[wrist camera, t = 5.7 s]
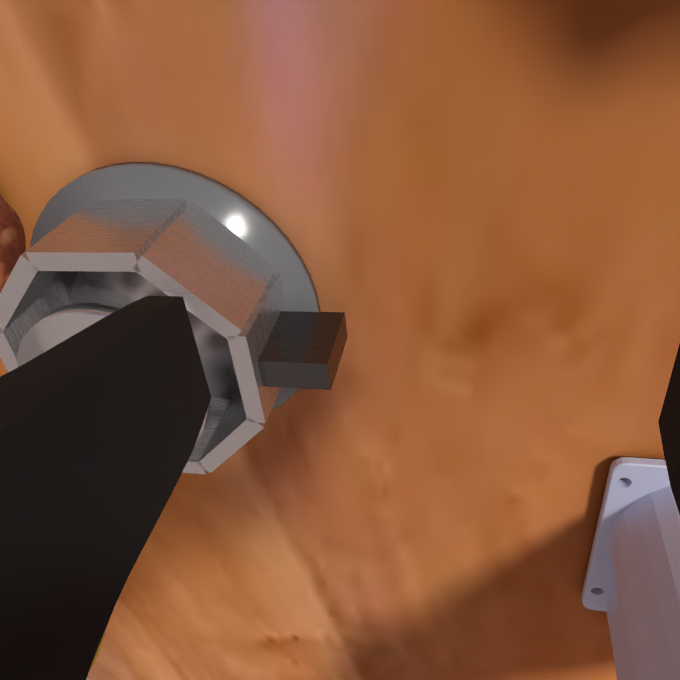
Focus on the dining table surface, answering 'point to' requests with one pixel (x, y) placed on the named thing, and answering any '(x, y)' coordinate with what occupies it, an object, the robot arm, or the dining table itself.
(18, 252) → the slice of bread
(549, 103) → the dining table surface
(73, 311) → the silver rounded piece
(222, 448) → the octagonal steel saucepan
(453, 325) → the dining table surface
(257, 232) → the round metal disc
